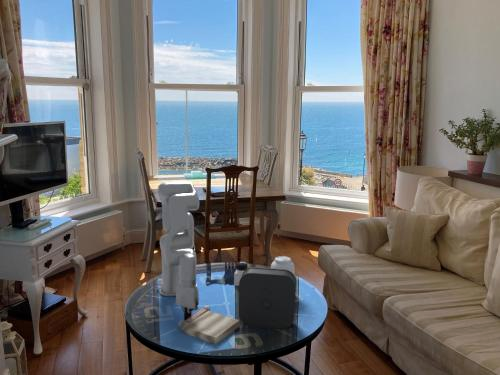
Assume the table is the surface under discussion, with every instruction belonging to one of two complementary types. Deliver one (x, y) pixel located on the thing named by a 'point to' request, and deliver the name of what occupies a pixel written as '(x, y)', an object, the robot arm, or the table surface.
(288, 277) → the speaker
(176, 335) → the table surface
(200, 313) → the folding leg
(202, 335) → the stool seat
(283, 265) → the white ribbed vase
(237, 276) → the box camera
